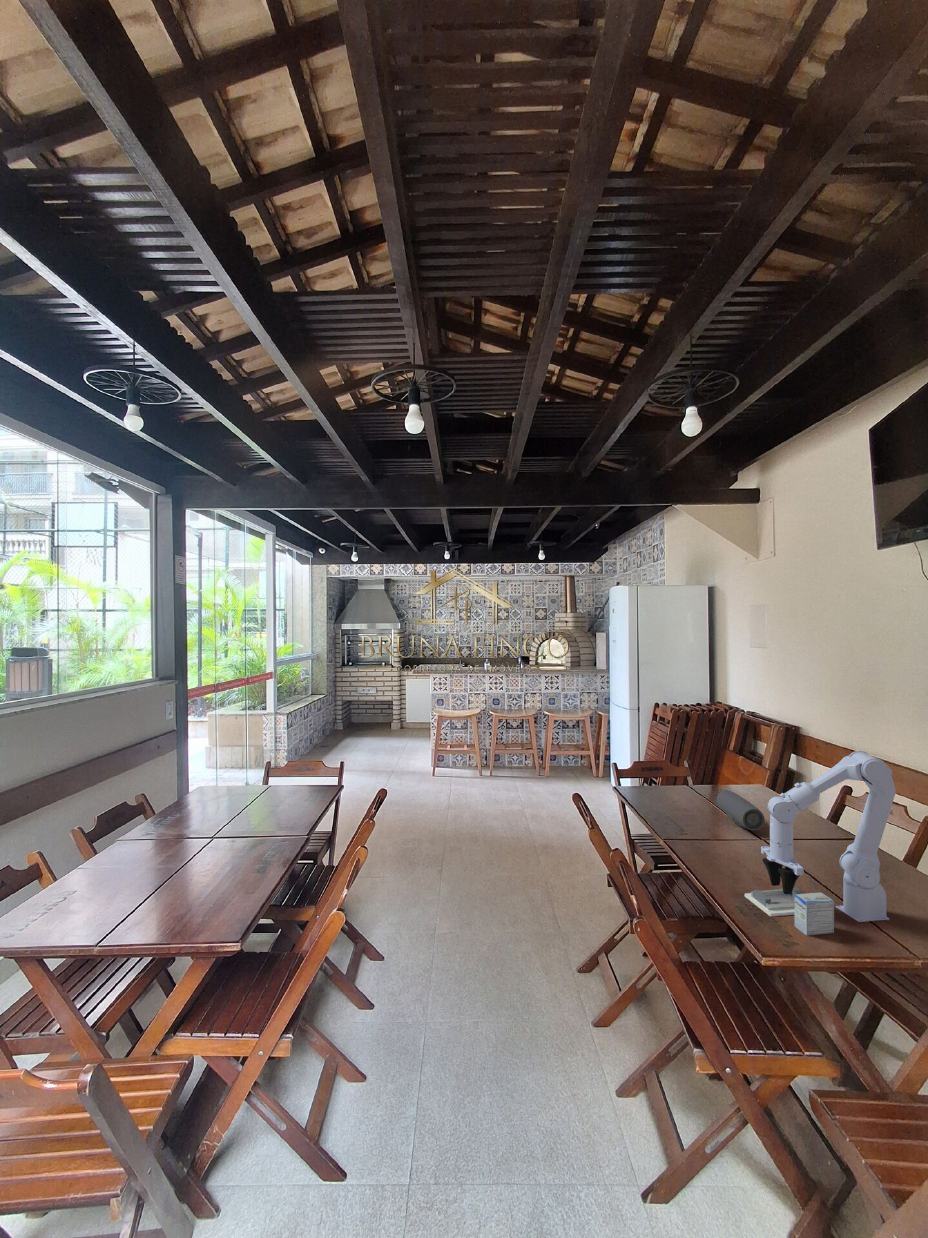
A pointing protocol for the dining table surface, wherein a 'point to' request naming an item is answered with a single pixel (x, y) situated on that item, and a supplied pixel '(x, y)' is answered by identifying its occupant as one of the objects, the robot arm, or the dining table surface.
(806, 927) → the medicine box
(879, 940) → the dining table surface
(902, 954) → the dining table surface
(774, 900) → the white flat tray
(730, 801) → the bluetooth speaker
